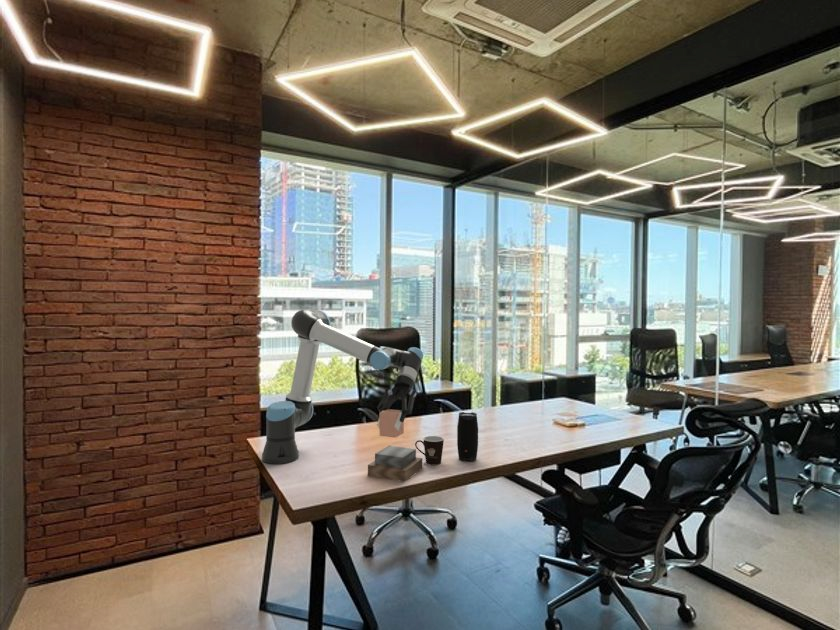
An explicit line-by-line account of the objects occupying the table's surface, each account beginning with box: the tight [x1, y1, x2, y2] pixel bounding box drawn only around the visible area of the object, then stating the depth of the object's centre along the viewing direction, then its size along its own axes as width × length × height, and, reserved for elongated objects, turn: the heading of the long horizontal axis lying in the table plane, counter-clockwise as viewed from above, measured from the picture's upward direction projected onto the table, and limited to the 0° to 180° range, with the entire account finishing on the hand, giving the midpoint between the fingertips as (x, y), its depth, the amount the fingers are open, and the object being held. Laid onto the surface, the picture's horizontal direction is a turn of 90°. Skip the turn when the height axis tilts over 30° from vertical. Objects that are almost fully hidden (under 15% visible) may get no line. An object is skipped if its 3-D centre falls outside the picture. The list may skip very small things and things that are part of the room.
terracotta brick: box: [378, 408, 405, 438], centre depth 177 cm, size 7×7×9 cm
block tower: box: [367, 445, 423, 482], centre depth 178 cm, size 16×16×8 cm
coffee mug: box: [414, 435, 445, 466], centre depth 190 cm, size 12×9×10 cm
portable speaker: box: [456, 411, 479, 462], centre depth 194 cm, size 9×9×20 cm
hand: (387, 427), depth 173 cm, fingers closed on terracotta brick, 7 cm apart
